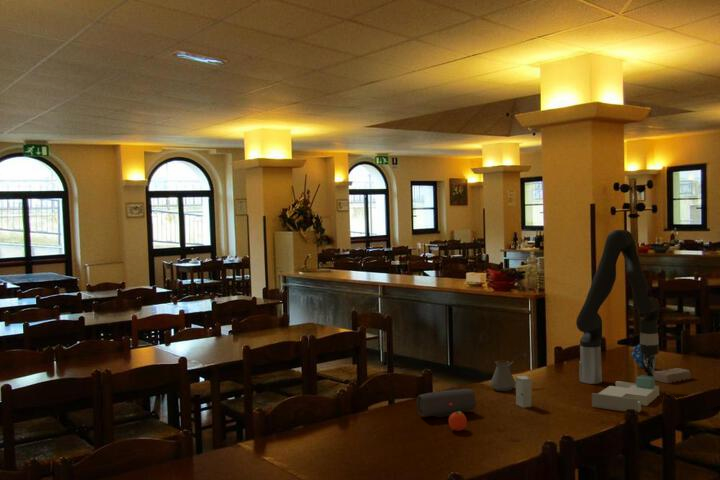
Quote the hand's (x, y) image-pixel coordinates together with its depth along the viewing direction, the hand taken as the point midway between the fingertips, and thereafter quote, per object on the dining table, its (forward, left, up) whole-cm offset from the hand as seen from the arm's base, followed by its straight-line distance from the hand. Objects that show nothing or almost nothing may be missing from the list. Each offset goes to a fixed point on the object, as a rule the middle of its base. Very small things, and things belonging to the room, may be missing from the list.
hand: (650, 381), depth 289 cm
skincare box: (-38, -47, -5) cm, 61 cm away
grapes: (-16, +43, -5) cm, 46 cm away
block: (0, -7, 0) cm, 7 cm away
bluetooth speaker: (-59, -75, -5) cm, 96 cm away
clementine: (-45, -89, -5) cm, 100 cm away
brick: (+2, +27, -5) cm, 27 cm away
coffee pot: (-56, -22, -5) cm, 61 cm away
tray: (-5, -19, -4) cm, 20 cm away
